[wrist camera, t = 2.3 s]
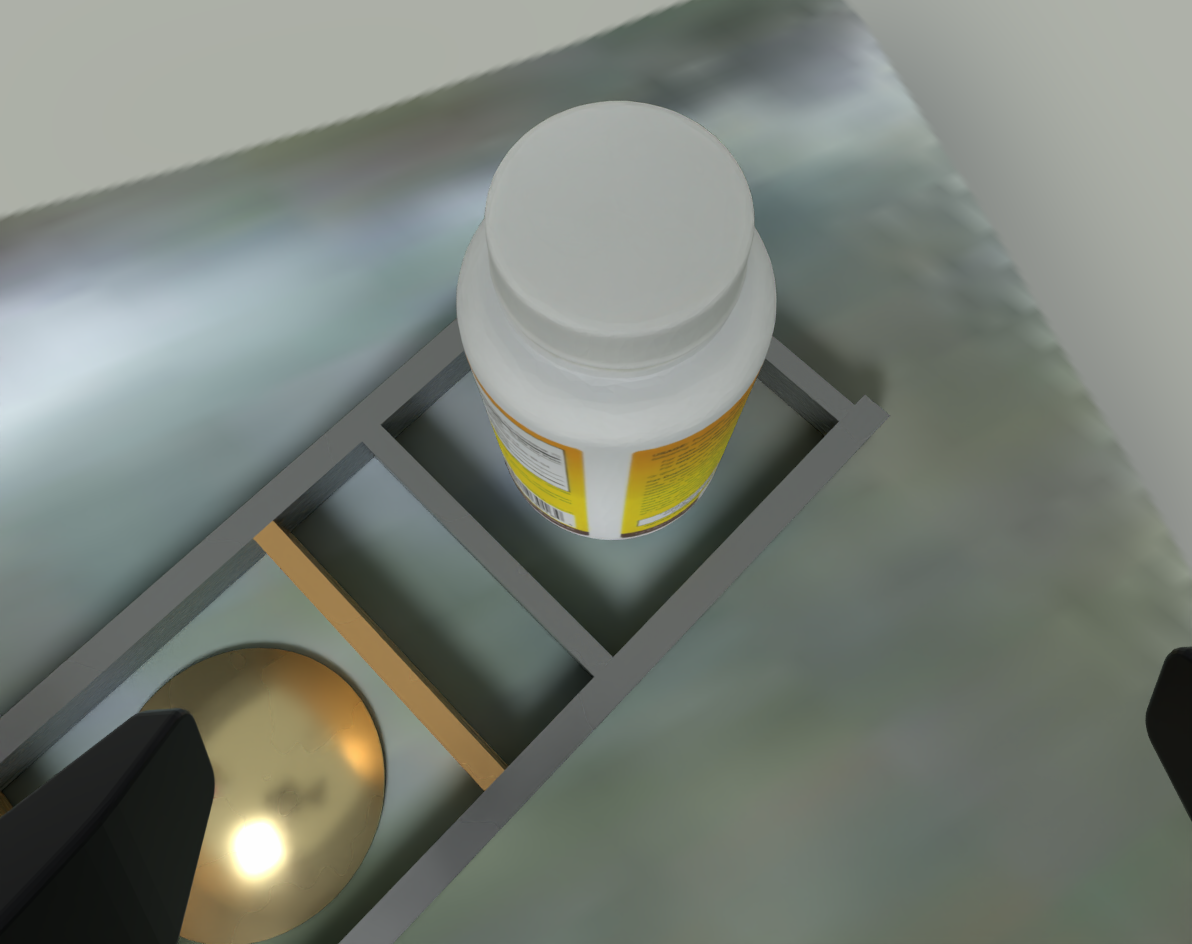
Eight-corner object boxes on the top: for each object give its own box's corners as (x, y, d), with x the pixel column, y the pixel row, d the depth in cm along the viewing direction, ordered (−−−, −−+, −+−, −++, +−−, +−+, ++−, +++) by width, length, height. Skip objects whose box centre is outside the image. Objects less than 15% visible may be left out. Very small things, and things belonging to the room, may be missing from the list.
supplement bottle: (729, 360, 23) (832, 79, 13) (703, 562, 21) (796, 419, 11) (525, 329, 23) (471, 31, 13) (483, 526, 21) (385, 355, 11)
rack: (611, 208, 24) (611, 181, 23) (874, 431, 22) (890, 415, 21) (-56, 797, 19) (-97, 802, 18) (202, 1145, 17) (173, 1176, 16)
